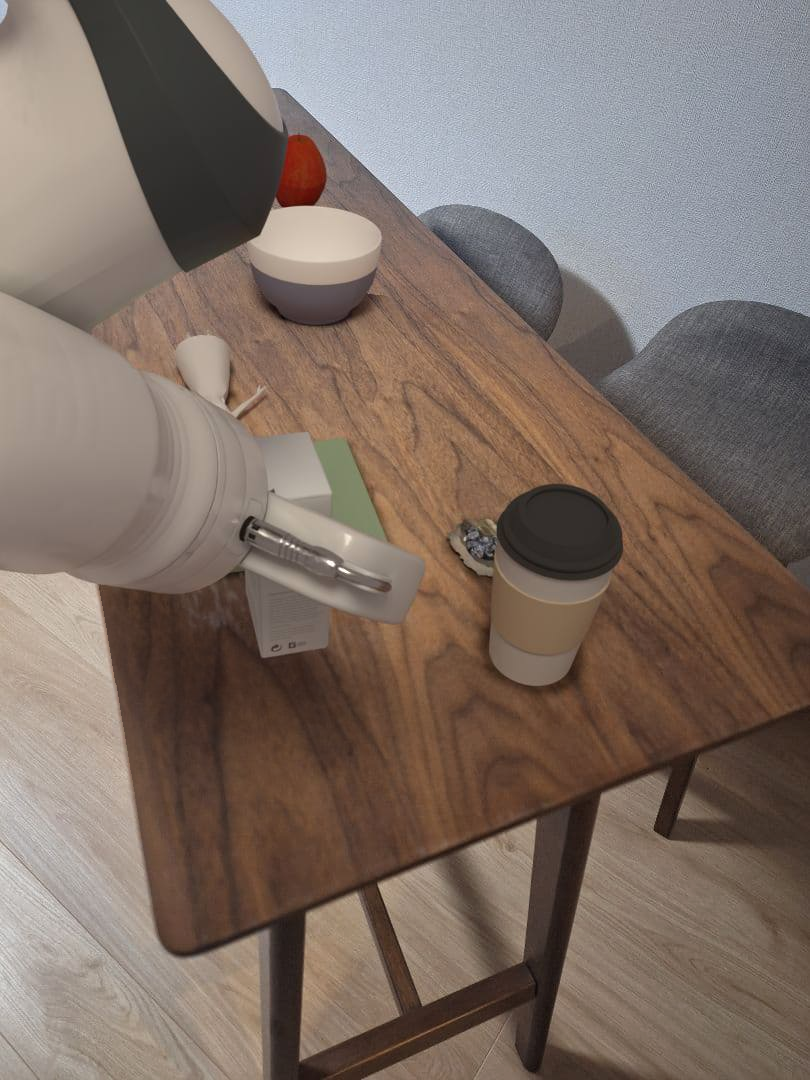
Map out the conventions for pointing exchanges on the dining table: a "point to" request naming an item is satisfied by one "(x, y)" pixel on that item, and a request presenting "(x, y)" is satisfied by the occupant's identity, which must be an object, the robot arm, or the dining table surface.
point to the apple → (301, 173)
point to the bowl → (315, 262)
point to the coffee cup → (549, 579)
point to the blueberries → (476, 544)
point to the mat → (346, 489)
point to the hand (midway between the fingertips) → (289, 534)
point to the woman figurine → (208, 369)
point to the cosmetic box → (275, 609)
